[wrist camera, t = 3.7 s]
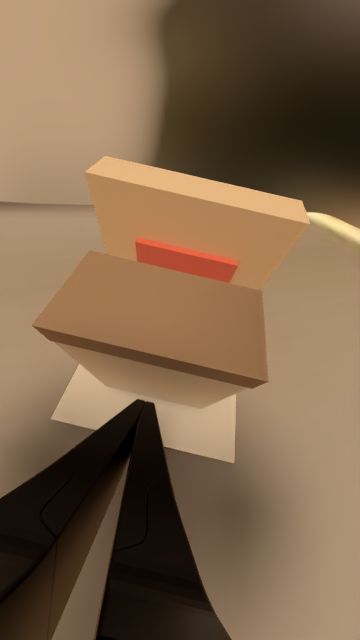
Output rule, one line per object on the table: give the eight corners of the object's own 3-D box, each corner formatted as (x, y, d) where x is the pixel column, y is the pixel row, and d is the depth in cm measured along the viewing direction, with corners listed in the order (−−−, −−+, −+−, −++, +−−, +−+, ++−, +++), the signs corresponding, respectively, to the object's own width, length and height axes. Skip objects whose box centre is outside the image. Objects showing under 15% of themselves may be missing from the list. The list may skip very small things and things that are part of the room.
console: (231, 462, 14) (428, 547, 4) (54, 419, 14) (-203, 394, 4) (236, 301, 22) (301, 200, 12) (127, 276, 22) (106, 155, 12)
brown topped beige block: (201, 409, 14) (268, 381, 6) (104, 386, 14) (31, 325, 6) (207, 361, 17) (262, 290, 8) (123, 341, 17) (89, 250, 8)
